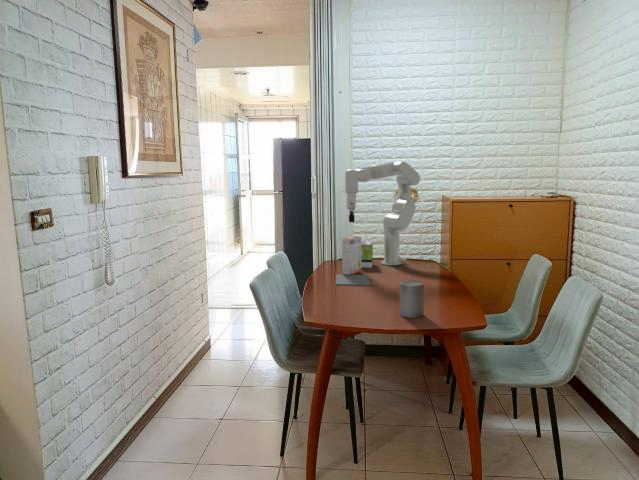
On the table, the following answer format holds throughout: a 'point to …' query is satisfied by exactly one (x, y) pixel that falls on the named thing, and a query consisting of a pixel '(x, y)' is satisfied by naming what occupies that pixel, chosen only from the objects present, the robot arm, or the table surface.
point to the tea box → (366, 254)
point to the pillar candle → (411, 298)
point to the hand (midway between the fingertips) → (351, 221)
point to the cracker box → (351, 255)
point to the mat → (352, 279)
